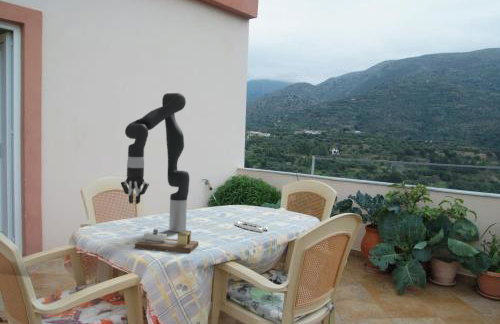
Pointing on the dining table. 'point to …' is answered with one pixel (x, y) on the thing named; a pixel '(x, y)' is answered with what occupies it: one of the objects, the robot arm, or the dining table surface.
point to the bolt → (155, 236)
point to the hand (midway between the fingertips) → (134, 203)
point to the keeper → (184, 238)
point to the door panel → (166, 245)
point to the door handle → (260, 229)
